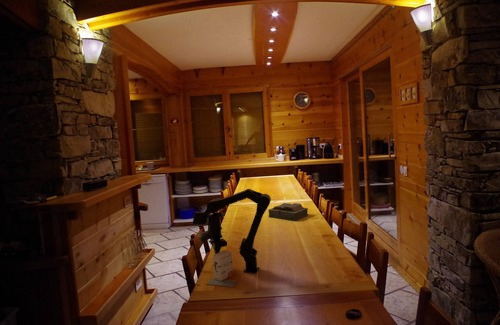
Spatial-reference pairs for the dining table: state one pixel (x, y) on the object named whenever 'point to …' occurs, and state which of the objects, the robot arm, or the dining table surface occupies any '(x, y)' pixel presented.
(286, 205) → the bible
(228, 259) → the ink box
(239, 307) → the dining table surface
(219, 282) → the slate mat
